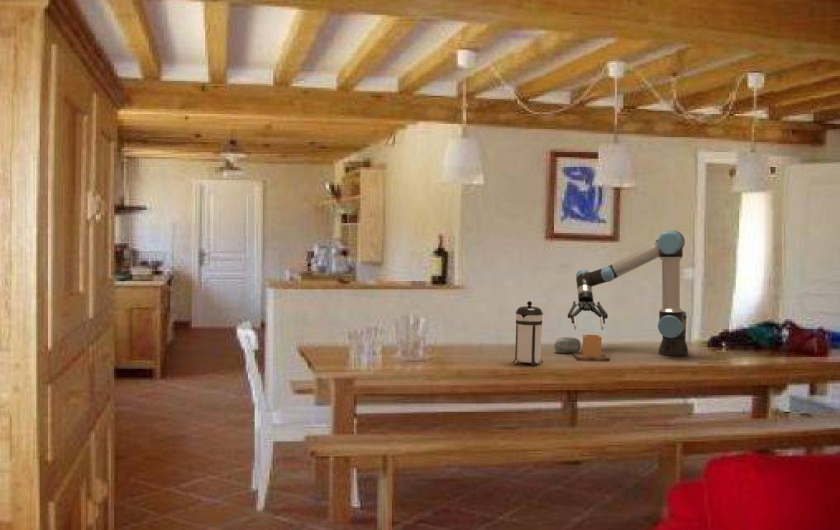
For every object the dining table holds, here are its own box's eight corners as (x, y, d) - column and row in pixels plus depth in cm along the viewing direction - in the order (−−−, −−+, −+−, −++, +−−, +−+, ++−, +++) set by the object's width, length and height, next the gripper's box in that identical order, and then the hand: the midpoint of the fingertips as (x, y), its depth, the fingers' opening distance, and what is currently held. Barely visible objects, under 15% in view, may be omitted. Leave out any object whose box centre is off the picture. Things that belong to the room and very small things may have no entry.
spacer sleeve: (598, 354, 451) (599, 335, 451) (600, 357, 443) (601, 337, 443) (582, 354, 452) (583, 334, 451) (584, 356, 444) (585, 336, 443)
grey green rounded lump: (577, 345, 472) (576, 330, 467) (583, 355, 464) (582, 340, 459) (552, 351, 471) (551, 336, 466) (558, 361, 463) (556, 346, 458)
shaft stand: (605, 357, 454) (605, 342, 454) (609, 361, 440) (610, 346, 440) (573, 356, 455) (573, 341, 455) (577, 360, 441) (577, 345, 441)
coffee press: (550, 366, 421) (552, 302, 420) (517, 366, 418) (519, 302, 416) (538, 360, 438) (539, 299, 437) (506, 360, 435) (508, 299, 433)
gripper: (608, 300, 469) (612, 333, 455) (560, 299, 470) (563, 332, 456) (610, 291, 463) (615, 323, 449) (561, 290, 464) (564, 323, 450)
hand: (589, 328), depth 452 cm, fingers open, 13 cm apart
